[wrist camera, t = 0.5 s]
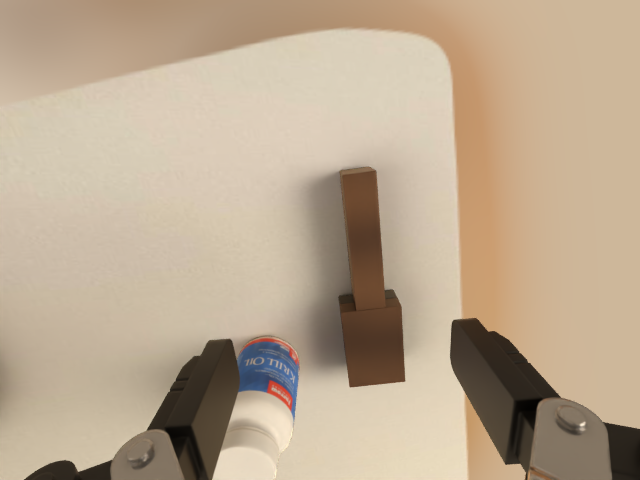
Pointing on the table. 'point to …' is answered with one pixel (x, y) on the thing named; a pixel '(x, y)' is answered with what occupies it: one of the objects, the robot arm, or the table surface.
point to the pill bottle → (260, 411)
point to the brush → (368, 289)
